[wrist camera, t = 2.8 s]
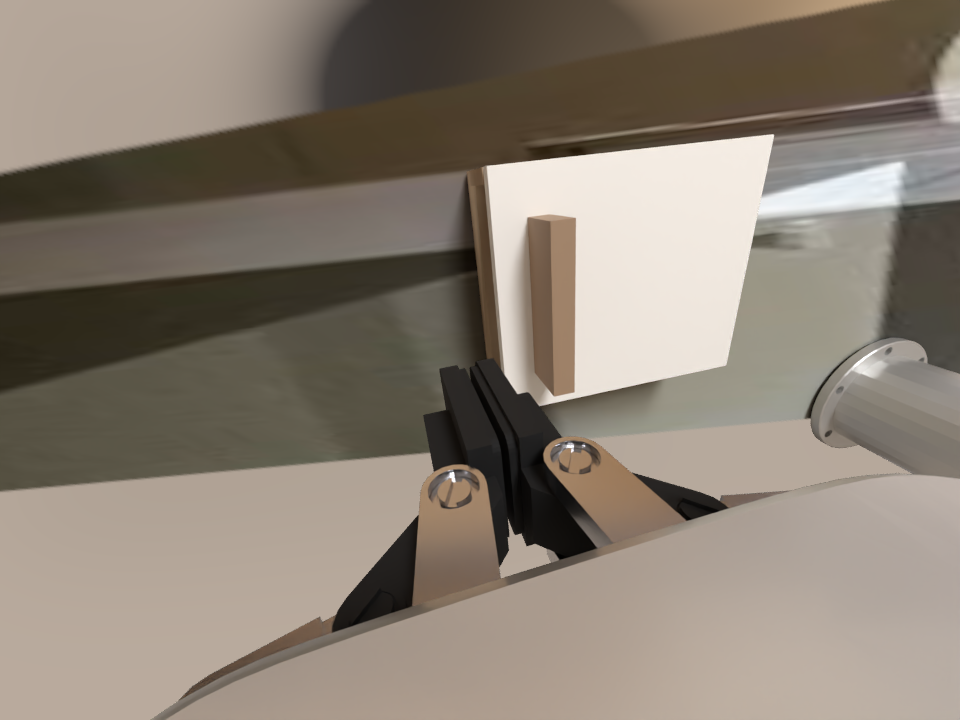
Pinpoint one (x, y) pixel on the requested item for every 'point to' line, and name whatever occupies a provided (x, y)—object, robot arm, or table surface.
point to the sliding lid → (621, 263)
